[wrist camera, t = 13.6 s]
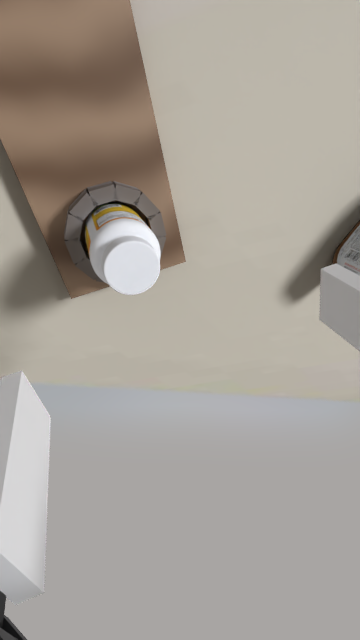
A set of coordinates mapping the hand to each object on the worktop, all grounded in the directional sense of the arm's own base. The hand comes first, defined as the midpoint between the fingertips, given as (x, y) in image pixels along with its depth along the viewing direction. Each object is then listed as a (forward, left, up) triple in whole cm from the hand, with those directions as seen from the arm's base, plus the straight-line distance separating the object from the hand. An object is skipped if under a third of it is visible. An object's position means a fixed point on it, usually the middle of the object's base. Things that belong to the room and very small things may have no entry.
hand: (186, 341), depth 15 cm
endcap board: (-5, -1, -22) cm, 22 cm away
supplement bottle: (+1, -1, -20) cm, 20 cm away
